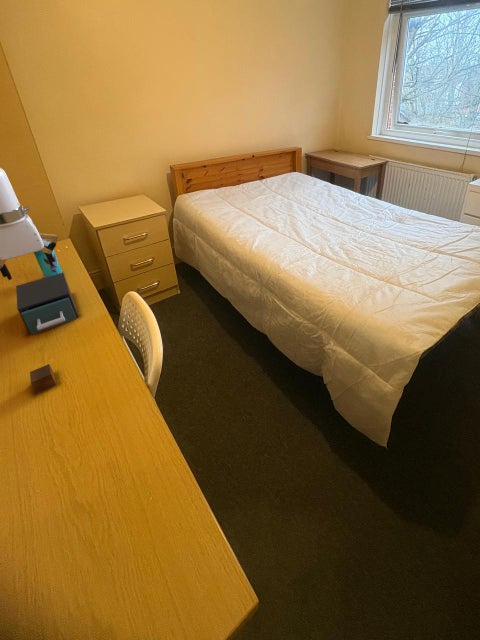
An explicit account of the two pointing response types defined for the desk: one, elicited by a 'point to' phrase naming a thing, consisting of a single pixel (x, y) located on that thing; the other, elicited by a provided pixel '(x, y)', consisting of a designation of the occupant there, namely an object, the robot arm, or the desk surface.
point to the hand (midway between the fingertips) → (31, 271)
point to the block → (42, 378)
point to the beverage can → (44, 263)
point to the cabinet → (43, 293)
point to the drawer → (48, 315)
